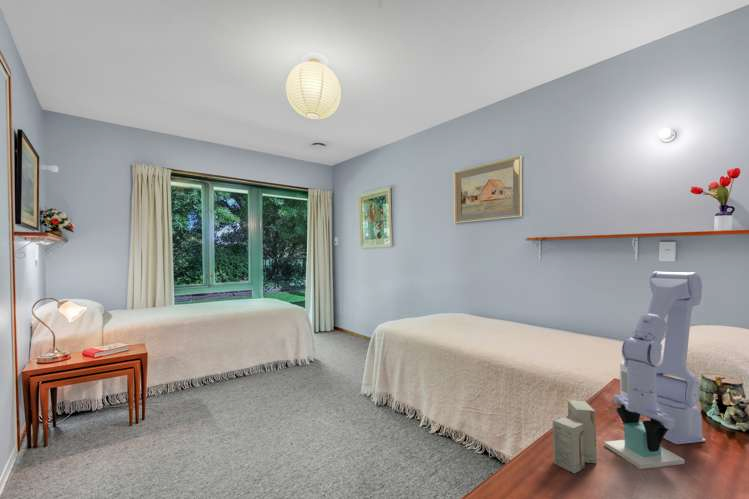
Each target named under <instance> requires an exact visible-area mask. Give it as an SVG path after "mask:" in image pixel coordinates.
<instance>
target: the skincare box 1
mask: <svg viewBox="0 0 749 499" xmlns="http://www.w3.org/2000/svg"><path fill="white" fill-rule="evenodd" d="M552 440H553V442H552V443H553V444H552V445H553V464H554V465H556V466H559V467H561V468H562V469H565V470H566V471H569V472H570V473H573V474H576V473H578V472H581V471H583V470H584V469H585V468H586V464H585V463H586V462H585V461H584V433H583V424H582V423H579V422H577V421H574V420H572V419H569V418H568V417H566V416H561V417H557V418H554V419H552Z"/></svg>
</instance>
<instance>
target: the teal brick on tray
mask: <svg viewBox="0 0 749 499" xmlns="http://www.w3.org/2000/svg"><path fill="white" fill-rule="evenodd" d="M623 426H624V440H625V446H626V447H627V448H629V449H631V450H632V451H634V452H636V453H637V454H639V455H641V456H642V457H648V456H656V455H661V447H662V443H661V444H660V447H659V450H658V451H655V452H651V451H649V449H648V445H647V434H646V430H645V427H644V425H643V423H642V421H639V422H635V423H626V424H623Z"/></svg>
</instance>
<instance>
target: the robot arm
mask: <svg viewBox="0 0 749 499" xmlns="http://www.w3.org/2000/svg"><path fill="white" fill-rule="evenodd" d="M649 288H650V292H651V293H652V298H651V300H650V303H649V306H648V310H647V314H642V315H641V316H640V317H639V319H638V321H637V324H636V325H635V327H634V330H633V333H632V334H631V337H629V338H626V339H624V341H623V343H622V346H621V354H622V355H621V356H622V358H623V361H624V365H625V367H627V388H628V389H627V390H628V398H627V397H625V396H622V395H620V394H614V395H613V403H614V404H616V405H620V407H616V412H617V413H618V416H619V417H620V419H621V421H622V423H623V425H624V424H626V423H635V422H640V417H641V415H642V416H643V417H646V418H648V419H649V420H643V421H641V422H642V423H643V425H644V427H645V430H646V434H647V445H648V449H649V451H651V452H655V451H658V450H659V447H660V444H661V445H662V441H663V439H665V440H666V441H669V442H670V443H673V445H682V444H683V445H684V444H694V443H701V442H702V443H704V442H707V439H706V438H704V437H703V416H702V413H701V411H700V409H699V408H698V406H697V405H698V404H699V401H700V398H701V396H700V395H701V391H700V381H699V378H698V377H697V376H696V374H694V373H693V372H692V371H690V369H688V368H687V359H688V350H689V349H688V348H689V340H690V329H691V328H690V327H691V319H692V311H693V307H696V306H699V305H700V304H701V301H702V292H703V282H702V279H701V276H700V275H699V274H698V273H697V272H693V271H692V272H677V271H675V272H674V271H673V272H672V271H658V270H656V271H655V270H654V271H653V272H652V273H651V274H650V277H649ZM666 317H667V318H666ZM665 319H666V321H665ZM664 337H665V338H664ZM663 339H664V347H663V344H662V341H663ZM662 350H663V356H662ZM661 359H662V363H660V362H661ZM675 377H677V378H675ZM679 378H681V379H679ZM683 379H684V380H683Z"/></svg>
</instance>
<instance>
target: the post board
mask: <svg viewBox="0 0 749 499" xmlns="http://www.w3.org/2000/svg"><path fill="white" fill-rule="evenodd" d="M604 447H606V448H607V449H609V450H611V451H612V452H613V453H615V454H617V455H618V456H620V457H621V458H623V459H624V460H626V461H627V462H629V463H630V464H632V465H634V467H636V468H638V469H640V470H644V469H651V468H653V469H654V468H662V467H670V466H677V465H686V464H685V463H686V462H685V458H682V457H681V456H679V455H677V454H675V453H674V452H672V451H670V450H668V449H666V448H665V447H664V446H661V455H656V456H648V457H642V456H641V455H639V454H637V453H636V452H634V451H632V450H631V449H629V448H627V447H626V446H625V439H619V440H608V441H604Z"/></svg>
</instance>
